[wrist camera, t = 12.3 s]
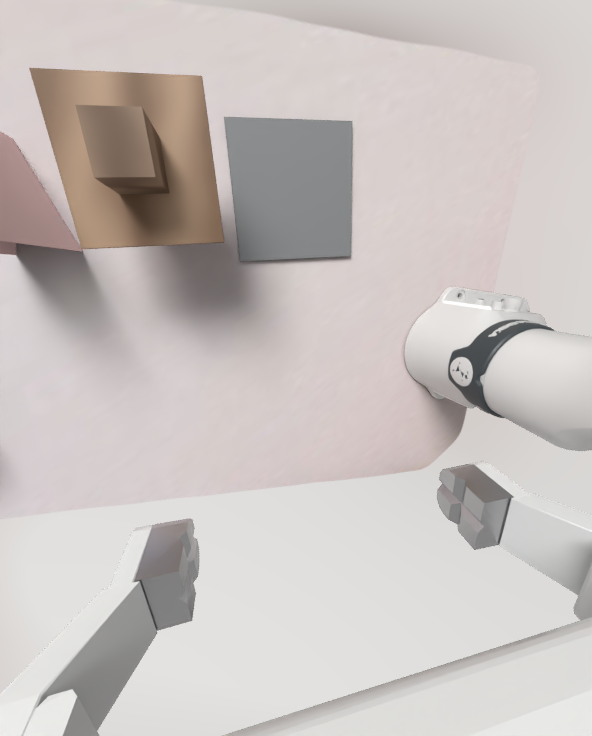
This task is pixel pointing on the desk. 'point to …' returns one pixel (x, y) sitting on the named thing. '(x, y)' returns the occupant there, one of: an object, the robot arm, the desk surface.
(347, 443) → the desk surface
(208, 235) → the walnut lid
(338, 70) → the desk surface
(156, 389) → the desk surface
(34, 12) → the desk surface
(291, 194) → the rubber mat
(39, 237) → the greeting card
